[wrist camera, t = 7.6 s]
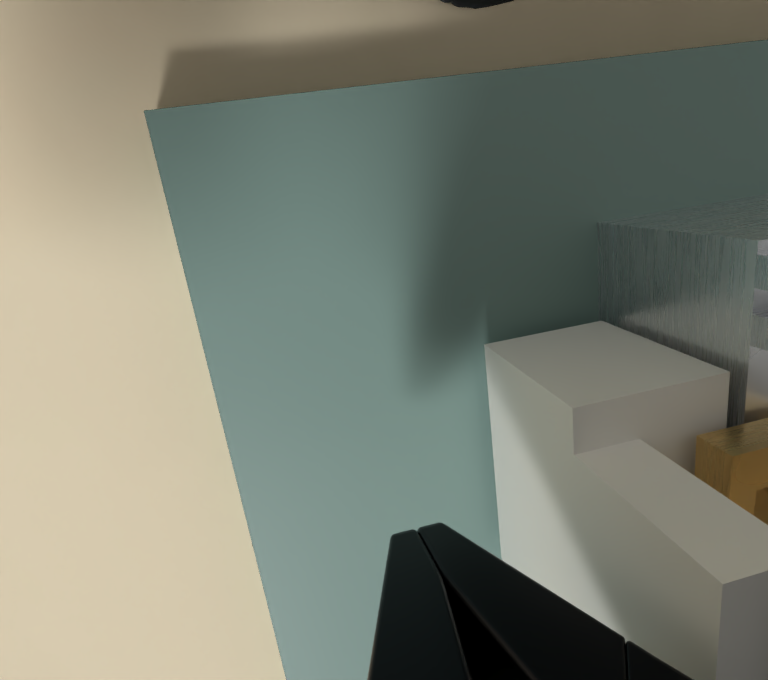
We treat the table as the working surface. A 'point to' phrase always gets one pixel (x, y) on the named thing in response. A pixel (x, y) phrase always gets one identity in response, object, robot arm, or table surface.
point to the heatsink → (695, 289)
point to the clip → (627, 495)
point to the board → (415, 286)
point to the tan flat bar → (737, 465)
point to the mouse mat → (475, 3)
